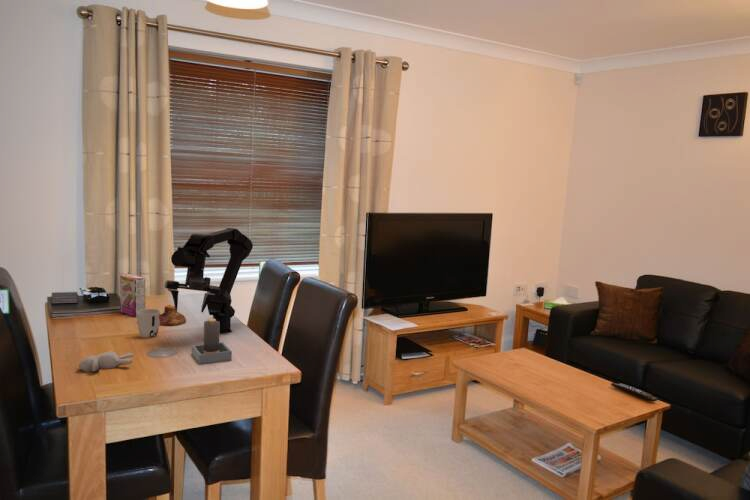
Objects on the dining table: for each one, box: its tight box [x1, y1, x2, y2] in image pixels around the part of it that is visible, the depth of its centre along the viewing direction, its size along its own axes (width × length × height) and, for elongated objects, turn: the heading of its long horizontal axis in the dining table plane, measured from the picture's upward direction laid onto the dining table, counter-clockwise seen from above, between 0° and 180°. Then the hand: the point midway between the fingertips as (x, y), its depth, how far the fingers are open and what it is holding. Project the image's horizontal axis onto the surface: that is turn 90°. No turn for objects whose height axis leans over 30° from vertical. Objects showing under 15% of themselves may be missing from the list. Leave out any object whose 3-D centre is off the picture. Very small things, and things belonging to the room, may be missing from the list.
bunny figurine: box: [78, 350, 134, 373], centre depth 177 cm, size 10×5×15 cm
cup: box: [136, 308, 161, 339], centre depth 209 cm, size 8×8×10 cm
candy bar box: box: [119, 273, 146, 318], centre depth 239 cm, size 11×5×16 cm, turn 58°
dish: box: [191, 341, 233, 365], centre depth 190 cm, size 11×11×4 cm
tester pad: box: [145, 347, 179, 359], centre depth 191 cm, size 10×10×1 cm
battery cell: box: [203, 317, 221, 354], centre depth 189 cm, size 5×5×13 cm
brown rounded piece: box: [159, 304, 187, 327], centre depth 231 cm, size 12×12×7 cm
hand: (189, 311), depth 205 cm, fingers open, 9 cm apart
